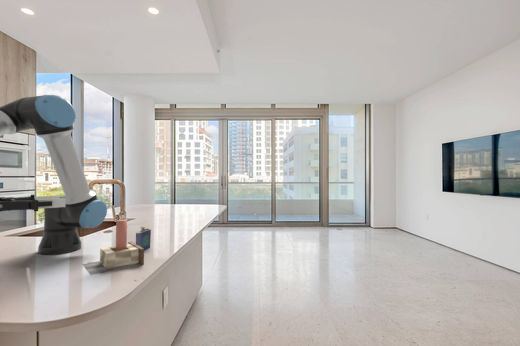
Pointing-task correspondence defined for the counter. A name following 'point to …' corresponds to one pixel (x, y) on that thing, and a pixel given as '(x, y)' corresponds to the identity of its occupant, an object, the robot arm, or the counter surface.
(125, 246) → the dowel
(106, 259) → the socket block
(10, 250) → the counter surface
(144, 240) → the flask
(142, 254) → the grey fixture base
